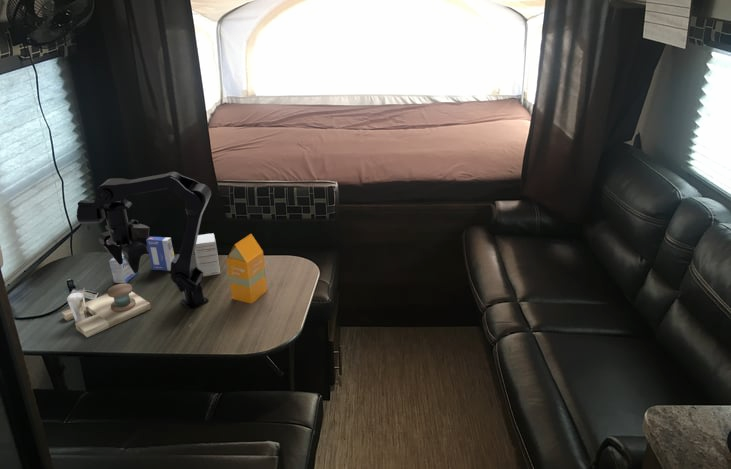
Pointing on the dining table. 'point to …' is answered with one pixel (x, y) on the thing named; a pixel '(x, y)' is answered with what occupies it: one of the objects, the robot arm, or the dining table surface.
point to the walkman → (160, 252)
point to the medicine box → (121, 271)
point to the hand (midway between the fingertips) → (128, 268)
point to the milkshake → (77, 306)
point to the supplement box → (207, 255)
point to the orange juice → (247, 270)
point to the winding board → (105, 314)
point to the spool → (121, 297)
